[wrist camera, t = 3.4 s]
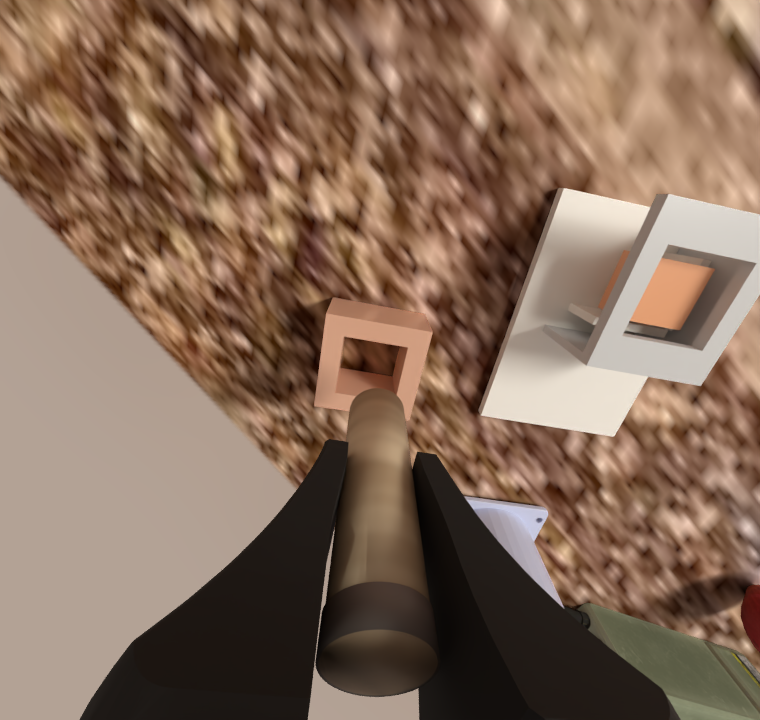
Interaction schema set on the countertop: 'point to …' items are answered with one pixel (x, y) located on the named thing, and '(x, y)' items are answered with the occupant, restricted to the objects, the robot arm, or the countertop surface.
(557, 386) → the square socket plate
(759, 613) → the onion
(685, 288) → the button
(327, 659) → the stylus
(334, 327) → the stylus holder
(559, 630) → the robot arm
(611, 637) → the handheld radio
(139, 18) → the countertop surface
